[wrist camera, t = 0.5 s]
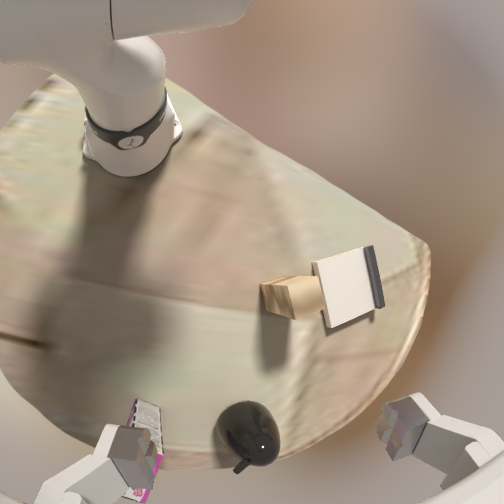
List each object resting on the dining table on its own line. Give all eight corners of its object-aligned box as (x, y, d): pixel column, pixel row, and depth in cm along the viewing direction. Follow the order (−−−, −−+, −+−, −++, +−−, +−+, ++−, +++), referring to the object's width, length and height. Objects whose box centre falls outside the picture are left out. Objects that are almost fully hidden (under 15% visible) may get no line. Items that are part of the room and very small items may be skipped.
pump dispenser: (200, 413, 46) (216, 458, 32) (247, 383, 49) (278, 418, 35) (230, 447, 47) (254, 492, 33) (274, 419, 50) (309, 457, 36)
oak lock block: (259, 283, 52) (287, 285, 40) (284, 276, 53) (317, 276, 42) (266, 310, 51) (295, 319, 40) (291, 302, 53) (325, 308, 42)
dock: (311, 262, 55) (320, 261, 51) (362, 246, 59) (372, 245, 55) (326, 326, 55) (336, 329, 51) (374, 305, 59) (385, 306, 55)
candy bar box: (145, 450, 42) (145, 505, 27) (120, 442, 41) (112, 495, 26) (162, 406, 44) (165, 456, 29) (136, 396, 43) (127, 444, 28)
